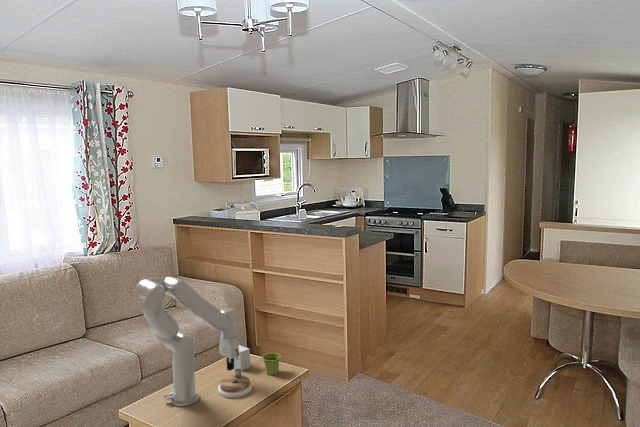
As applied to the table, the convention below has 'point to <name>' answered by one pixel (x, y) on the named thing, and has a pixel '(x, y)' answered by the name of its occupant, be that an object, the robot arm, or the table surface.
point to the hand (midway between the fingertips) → (230, 369)
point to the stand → (235, 394)
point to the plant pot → (271, 363)
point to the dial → (235, 382)
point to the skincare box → (243, 359)
